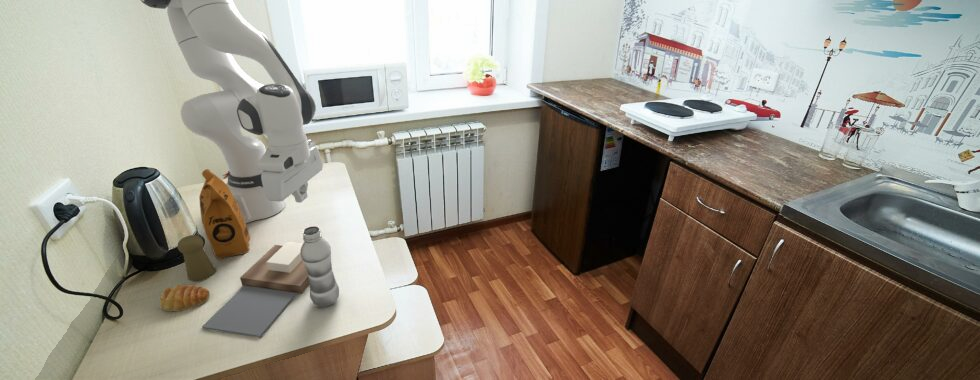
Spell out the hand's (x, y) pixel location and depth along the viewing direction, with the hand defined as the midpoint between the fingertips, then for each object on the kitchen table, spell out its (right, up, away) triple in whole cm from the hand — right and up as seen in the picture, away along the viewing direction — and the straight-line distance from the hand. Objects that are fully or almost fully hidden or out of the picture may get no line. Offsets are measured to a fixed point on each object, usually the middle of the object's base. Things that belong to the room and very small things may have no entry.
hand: (301, 199), depth 110 cm
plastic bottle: (+11, -24, -11) cm, 29 cm away
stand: (-3, -19, -2) cm, 19 cm away
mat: (-5, -25, -14) cm, 29 cm away
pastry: (-22, -24, -12) cm, 35 cm away
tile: (-2, -16, -2) cm, 16 cm away
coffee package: (-23, -14, +7) cm, 28 cm away
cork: (-24, -19, -3) cm, 31 cm away
